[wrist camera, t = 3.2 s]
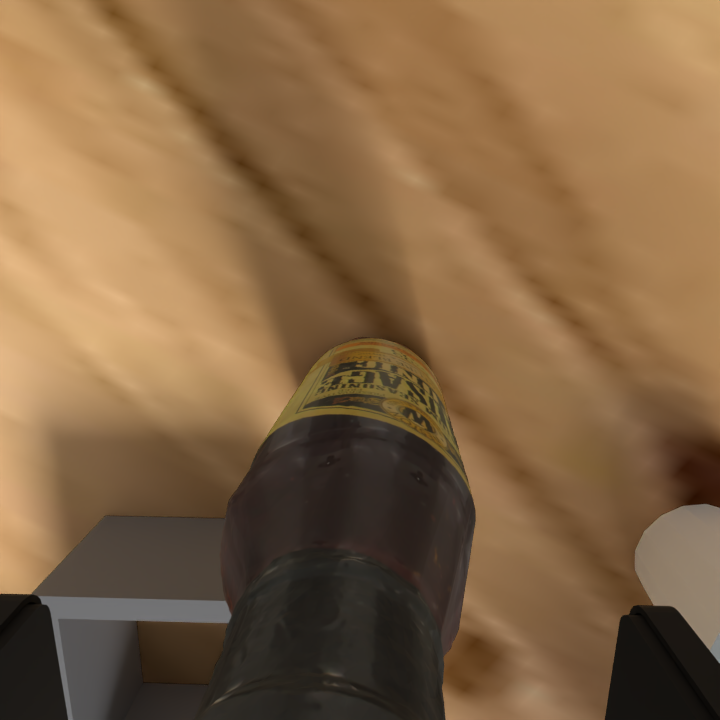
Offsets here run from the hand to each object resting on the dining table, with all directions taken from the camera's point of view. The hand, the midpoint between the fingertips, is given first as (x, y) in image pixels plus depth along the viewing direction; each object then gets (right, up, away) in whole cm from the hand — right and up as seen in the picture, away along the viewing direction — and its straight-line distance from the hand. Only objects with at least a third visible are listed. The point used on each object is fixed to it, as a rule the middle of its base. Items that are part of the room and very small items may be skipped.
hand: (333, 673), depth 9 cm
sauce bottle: (+1, +4, +16) cm, 17 cm away
